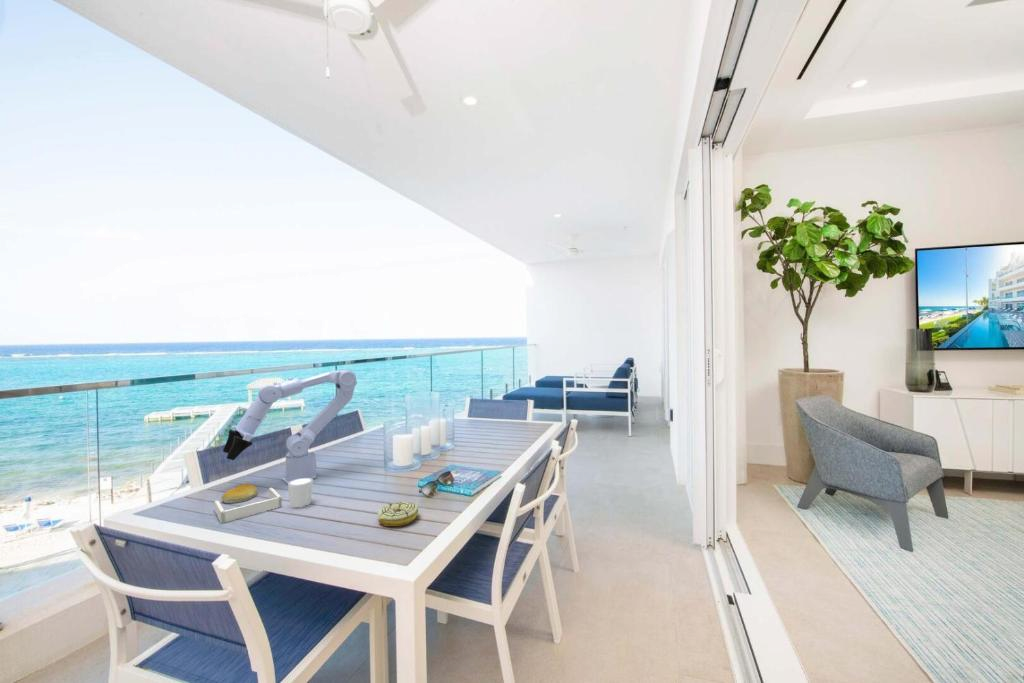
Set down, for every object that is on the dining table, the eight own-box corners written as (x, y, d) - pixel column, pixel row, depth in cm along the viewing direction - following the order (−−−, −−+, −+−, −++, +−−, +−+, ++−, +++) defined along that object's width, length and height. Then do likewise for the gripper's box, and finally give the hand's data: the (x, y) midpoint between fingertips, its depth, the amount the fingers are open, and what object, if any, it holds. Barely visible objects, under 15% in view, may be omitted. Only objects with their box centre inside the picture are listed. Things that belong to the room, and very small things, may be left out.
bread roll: (215, 503, 117) (215, 490, 117) (241, 492, 126) (241, 480, 126) (238, 505, 116) (238, 492, 116) (262, 494, 125) (262, 482, 125)
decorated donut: (385, 511, 111) (385, 499, 111) (421, 511, 111) (421, 499, 111) (372, 529, 101) (372, 514, 101) (412, 529, 101) (412, 514, 101)
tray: (271, 496, 122) (271, 487, 122) (281, 507, 114) (281, 497, 114) (214, 511, 111) (214, 501, 111) (221, 523, 104) (221, 512, 104)
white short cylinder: (317, 499, 120) (317, 477, 120) (303, 509, 113) (303, 485, 113) (297, 499, 120) (297, 477, 120) (282, 508, 113) (282, 485, 113)
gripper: (237, 409, 132) (211, 445, 128) (245, 418, 122) (218, 458, 118) (257, 416, 137) (233, 452, 132) (267, 425, 126) (241, 465, 122)
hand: (228, 455), depth 125 cm, fingers open, 7 cm apart
